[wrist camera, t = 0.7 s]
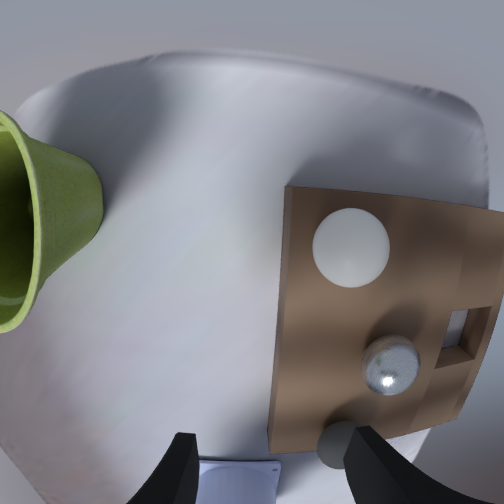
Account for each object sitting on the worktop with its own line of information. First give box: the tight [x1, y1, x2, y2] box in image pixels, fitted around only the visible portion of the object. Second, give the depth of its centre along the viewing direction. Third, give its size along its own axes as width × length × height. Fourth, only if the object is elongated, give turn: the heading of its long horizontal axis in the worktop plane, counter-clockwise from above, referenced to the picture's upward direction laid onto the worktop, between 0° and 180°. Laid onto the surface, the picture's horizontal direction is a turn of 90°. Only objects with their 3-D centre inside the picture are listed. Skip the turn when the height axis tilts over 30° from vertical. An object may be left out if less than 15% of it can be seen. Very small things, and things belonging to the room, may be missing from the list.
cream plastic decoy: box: [312, 208, 390, 288], centre depth 13 cm, size 4×4×4 cm
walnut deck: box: [267, 186, 504, 454], centre depth 17 cm, size 18×17×2 cm
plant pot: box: [0, 110, 104, 333], centre depth 12 cm, size 9×9×9 cm
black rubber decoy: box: [317, 421, 362, 469], centre depth 16 cm, size 4×4×4 cm
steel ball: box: [361, 335, 421, 396], centre depth 14 cm, size 4×4×4 cm
